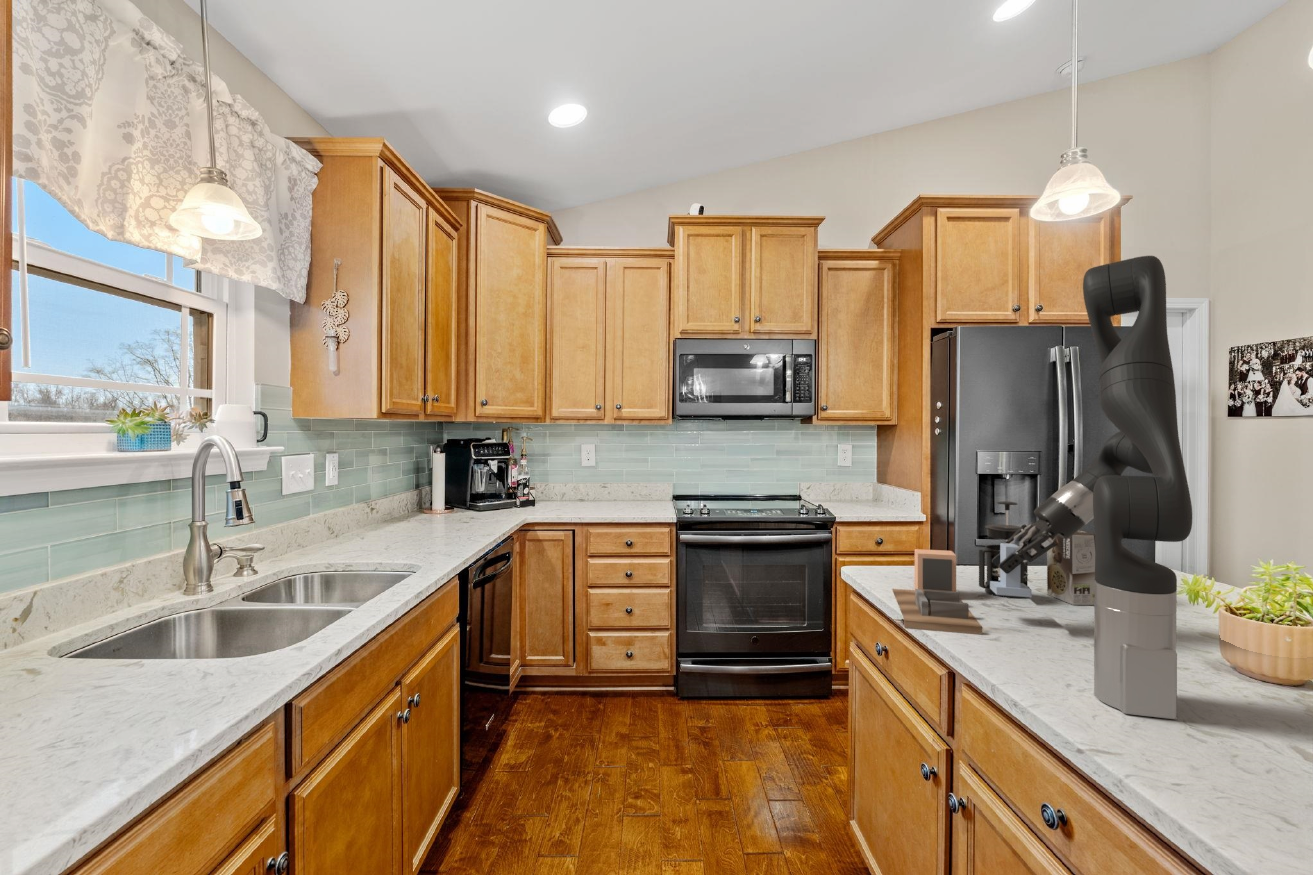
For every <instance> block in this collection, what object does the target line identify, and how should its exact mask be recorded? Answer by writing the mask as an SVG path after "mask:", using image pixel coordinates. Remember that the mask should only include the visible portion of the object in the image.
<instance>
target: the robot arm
mask: <svg viewBox="0 0 1313 875" xmlns="http://www.w3.org/2000/svg"><path fill="white" fill-rule="evenodd" d="M1082 280H1083V281H1082V292H1083V293H1082V295H1083V301H1084V305H1085V310H1086V313H1087V317H1088V321H1089V325H1090V328H1091V332H1092V336H1093V339H1094V342H1095V346H1096V349H1097V352H1098V355H1099V358H1100V362H1101V367H1100V370H1099V373H1098V384H1099V386H1098V387H1099V404H1100V407H1101V410H1102V412H1103V414H1104V415H1105V416H1106V418H1107V419H1108V420H1109V421H1110V423H1112V424H1113V426H1115V427H1116V428H1117V429H1118V430H1119V431H1118V432H1116V433H1114V434H1113V435H1111V436H1109V438H1108V439H1107V440H1106V442H1104V444H1103V446H1102V447H1101V448H1100V449H1099V451H1098V452H1097V453H1096V455H1095V456H1094V458H1093V459H1092V461H1091V463H1090V465H1088V467H1086V468H1085V469H1084V470H1083V471H1082V472H1081V473H1079V474H1078V475H1077V476H1076V477H1074V478H1073V479H1072V480H1071V481H1070V482H1068V483H1067V484H1064V485H1063V486H1062V487H1061V488H1059V489H1058V490H1056V492H1054V493H1053V494H1052V495H1050V497H1048V498H1047V499H1046V500H1045V501H1044V502H1042V503H1041V504H1040V505H1039V506H1038V507H1036V508H1035V509H1034V511H1033V514H1034V515H1035V517H1036V518H1037V519H1038V520H1037V521H1035V522H1034V523H1032V524H1031V523H1030V524H1028V525H1026V524H1022V525H1021V526H1019V527H1020V528H1019V529H1018V530H1017V531H1016V532H1015V533H1014V534H1013V535H1012V536H1011V537H1010V538H1009V539H1008V540H1007V541H1005V542H1004V543H1008V544H1015V545H1017V546H1019V547H1018V548H1017V549H1016V550H1015V551H1014V554H1015V555H1014V554H1013V553H1012V554H1011V555H1010V556H1008V557H1007V558H1006V559H1005V560H1003V561H1002V562H1001V563H1000V553H999V554H998V555H997V556H995V557H994V558H993V559H992V562H993V563H994V564H995V565H996V566H997V567H998V568H1000V569H1002V570H1003V571H1004V572H1005V573H1006V574H1008V573H1010V572H1011V571H1012V570H1014V569H1015V568H1016V567H1017V566H1018V565H1020V564H1021V563H1022V561H1023V562H1027V561H1028V563H1032V562H1033V561H1035V560H1036V559H1039V557H1041V556H1043V555H1044V554H1045V553H1047V551H1048V550H1050V549H1052V548H1053V547H1055V546H1056V545H1057V543H1056V542H1055V541H1054V540H1053V539H1054V538H1055V537H1056V536H1057V535H1058V536H1060V537H1061V538H1064V539H1069V538H1070V537H1071V536H1072V535H1074V534H1075V533H1076V532H1077V531H1078V530H1082V528H1084V527H1085V526H1086V525H1087V524H1088V523H1090V521H1092V520H1093V526H1094V527H1093V528H1094V533H1095V600H1094V605H1093V606H1094V616H1093V618H1094V619H1093V620H1094V621H1093V622H1094V623H1093V624H1094V626H1093V627H1094V628H1093V633H1094V634H1093V638H1094V639H1093V640H1094V642H1093V645H1094V646H1093V649H1094V650H1093V655H1094V656H1093V672H1094V675H1093V694H1094V696H1095V697H1096V698H1097V699H1098V700H1099V701H1101V702H1102V703H1104V704H1106V705H1108V706H1110V707H1112V708H1114V709H1118V710H1119V711H1121V713H1123V714H1125V715H1133V716H1143V717H1151V718H1152V717H1153V718H1161V719H1169V720H1177V714H1178V713H1177V712H1178V706H1177V705H1178V703H1177V702H1178V653H1177V612H1178V610H1177V605H1178V604H1177V603H1178V602H1177V601H1178V600H1177V593H1178V580H1177V575H1176V573H1175V572H1174V570H1173V569H1171V568H1169V567H1167V566H1165V565H1162V564H1161V563H1157V562H1154V561H1152V560H1149V559H1146V558H1144V557H1142V556H1139V555H1138V554H1135V553H1134V552H1132V551H1130V550H1129V549H1127V548H1126V547H1125V546H1124V545H1123V543H1122V541H1123V539H1124V540H1125V539H1126V540H1136V541H1138V540H1141V541H1148V542H1149V541H1150V542H1151V541H1152V542H1153V541H1154V542H1167V543H1178V542H1183V541H1186V539H1188V537H1189V536H1190V534H1191V532H1192V527H1193V506H1192V500H1191V499H1192V498H1191V494H1190V493H1191V492H1190V488H1189V482H1188V478H1187V475H1186V474H1187V473H1186V469H1185V463H1184V458H1183V454H1182V450H1181V444H1180V437H1179V425H1178V424H1179V423H1178V412H1177V394H1176V393H1177V392H1176V385H1175V378H1174V377H1175V376H1174V374H1175V373H1174V369H1173V361H1172V357H1171V350H1170V344H1169V343H1170V342H1169V337H1168V336H1169V335H1168V326H1167V323H1168V322H1167V282H1166V272H1165V269H1164V265H1163V264H1162V261H1161V260H1160V258H1158V257H1157V256H1155V255H1142V256H1136V257H1133V258H1127V259H1124V260H1119V261H1113V262H1109V263H1106V264H1102V265H1097V266H1093V267H1090V268H1089V269H1088V270H1086V272H1084V276H1083V279H1082ZM1136 312H1138V313H1137V316H1136V319H1135V321H1134V323H1133V324H1132V326H1131V328H1130V329H1129V331H1128V332H1127V333H1126V334H1125V336H1124V337H1123V338H1121V337H1120V335H1119V334H1118V333H1117V331H1116V329H1115V328H1114V325H1113V321H1112V318H1111V317H1113V316H1119V315H1125V314H1130V313H1131V314H1132V313H1136ZM1128 467H1129V468H1131V469H1134V470H1137V471H1140V472H1142V473H1146V474H1153V476H1150V475H1149V476H1147V475H1146V476H1142V475H1141V476H1140V475H1123V473H1124V471H1125V470H1126V469H1127V468H1128ZM1027 551H1028V552H1027Z"/></svg>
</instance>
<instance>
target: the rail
mask: <svg viewBox="0 0 1313 875" xmlns="http://www.w3.org/2000/svg"><path fill="white" fill-rule="evenodd" d="M891 590H892V592H893V594H894V598H895V600H896V603H897V605H898V608H899V610H900V612H901V613H900V614H902V618H901V619H900V620H901V621H902V622H901V623H902V625H903V627H904V629H912V630H923V631H924V630H925V631H938V632H949V633H958V634H959V633H960V634H961V633H962V634H971V635H972V634H973V635H983V626H982V625H981V623H980V622H979V621H978V620H977V618H976V617H975V616H974V614H973V613H972V612H971V610H970V609H969V608H970V606H969V602H963V600H962V599H961V598H960V597H961V596H960V594H961V593H960V592H959V591H956V592H954V591H939V590H924V593H923V592H922V590H921V589H915V588H914V589H902V588H891Z"/></svg>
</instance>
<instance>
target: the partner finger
mask: <svg viewBox="0 0 1313 875" xmlns="http://www.w3.org/2000/svg"><path fill="white" fill-rule="evenodd" d="M915 589H921V590H922V592H923V593H924V590H939V591H954V592H957V555H956V554H955V553H954V551H953V550H943V549H942V550H939V549H925V548H923V549H921V548H914V590H915Z"/></svg>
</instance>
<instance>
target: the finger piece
mask: <svg viewBox="0 0 1313 875" xmlns="http://www.w3.org/2000/svg"><path fill="white" fill-rule="evenodd" d="M999 545H1000V550H999V551H1000V563H1001V562H1002V561H1003V560H1005V559H1006V558H1007V557H1008V556H1010V555H1011V554H1012V553H1013V554H1014V551H1015V550H1016V549H1017V548H1018V547H1019V546H1017V545H1018V544H1008V543H1005V542H1004V543H1002V542H1001V543H1000V544H999ZM1014 555H1015V554H1014ZM999 580H1000V582H996V581H990V589H991V590H992V591H993V592H994V593H995V594H996V595H1007V596H1021V597H1030V598H1032V597H1033V596H1032V590H1033V589H1032V588H1030V586H1029V585H1027V586H1026V585H1025V584H1024V583H1020V565H1018V566H1017V567H1016V568H1015V569H1014V570H1012V571H1011V572H1010V573H1008V574H1006V573H1005V572H1004V571H1003V570H1002V569H1000V577H999Z"/></svg>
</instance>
